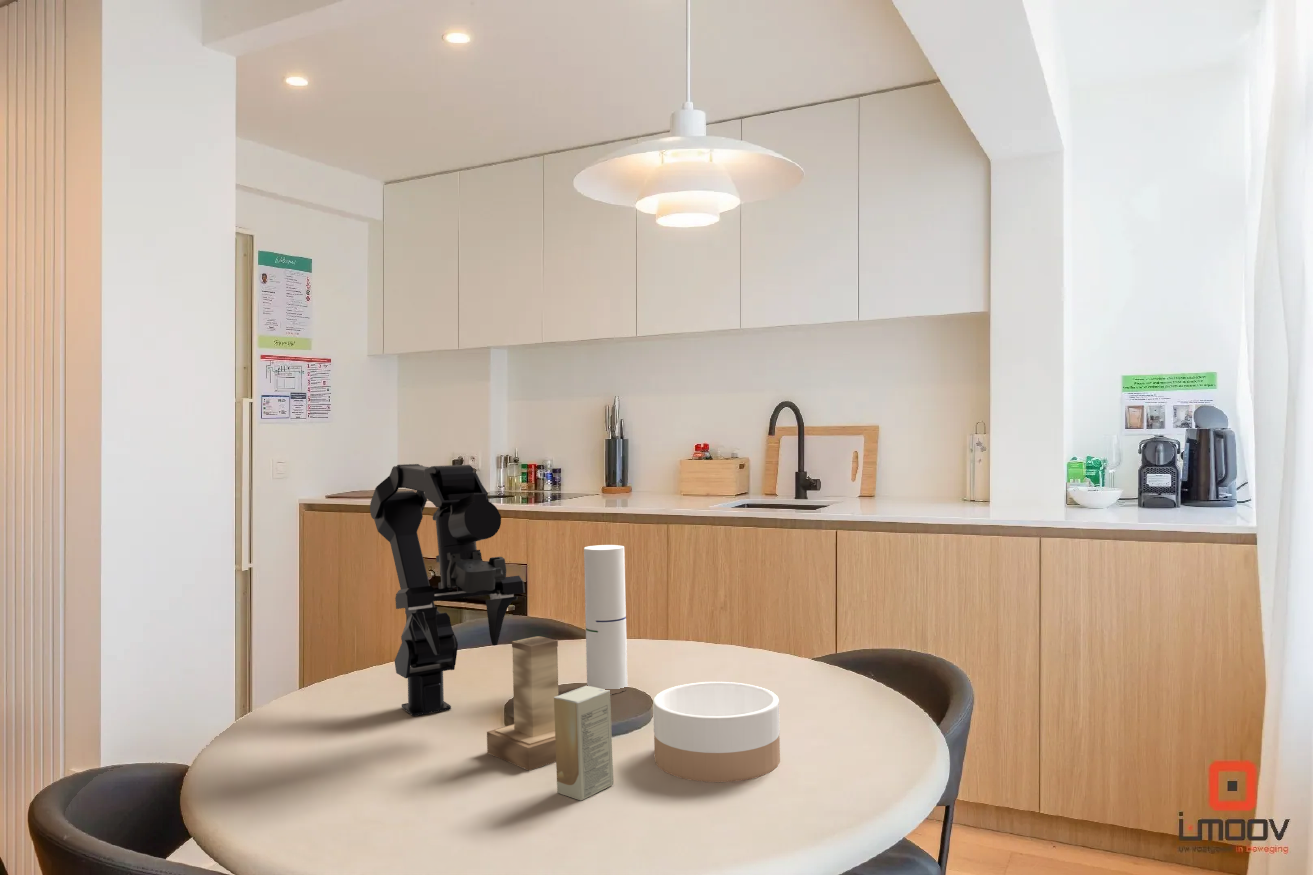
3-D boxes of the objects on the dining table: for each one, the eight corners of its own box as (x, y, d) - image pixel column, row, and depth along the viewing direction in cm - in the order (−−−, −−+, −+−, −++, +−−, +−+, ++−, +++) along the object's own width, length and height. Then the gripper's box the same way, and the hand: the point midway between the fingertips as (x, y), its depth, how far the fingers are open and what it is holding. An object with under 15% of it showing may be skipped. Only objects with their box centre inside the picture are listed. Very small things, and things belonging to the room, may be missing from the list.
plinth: (487, 752, 126) (486, 730, 126) (544, 735, 133) (543, 714, 133) (529, 770, 119) (528, 746, 119) (587, 751, 126) (586, 728, 126)
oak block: (513, 729, 126) (511, 641, 126) (540, 722, 129) (538, 635, 129) (533, 737, 123) (531, 646, 123) (559, 729, 126) (557, 640, 126)
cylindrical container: (622, 695, 153) (618, 549, 154) (582, 693, 155) (579, 549, 155) (631, 684, 160) (628, 544, 161) (593, 682, 162) (590, 544, 162)
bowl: (637, 748, 127) (635, 689, 127) (745, 731, 133) (744, 675, 133) (683, 791, 111) (681, 724, 111) (804, 770, 117) (802, 707, 117)
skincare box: (589, 777, 116) (587, 683, 116) (614, 785, 113) (612, 689, 113) (554, 793, 111) (551, 695, 111) (579, 802, 108) (577, 701, 108)
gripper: (416, 546, 125) (426, 659, 122) (535, 535, 135) (546, 640, 133) (390, 553, 134) (398, 659, 131) (504, 543, 144) (513, 641, 142)
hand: (466, 649), depth 134 cm, fingers open, 9 cm apart
